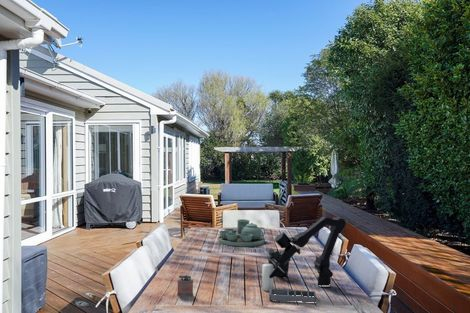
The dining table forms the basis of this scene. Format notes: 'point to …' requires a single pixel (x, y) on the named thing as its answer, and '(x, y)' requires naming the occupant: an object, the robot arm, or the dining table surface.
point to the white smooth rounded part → (267, 277)
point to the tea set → (242, 235)
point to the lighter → (185, 285)
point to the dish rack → (287, 295)
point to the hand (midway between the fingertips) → (267, 275)
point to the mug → (284, 273)
